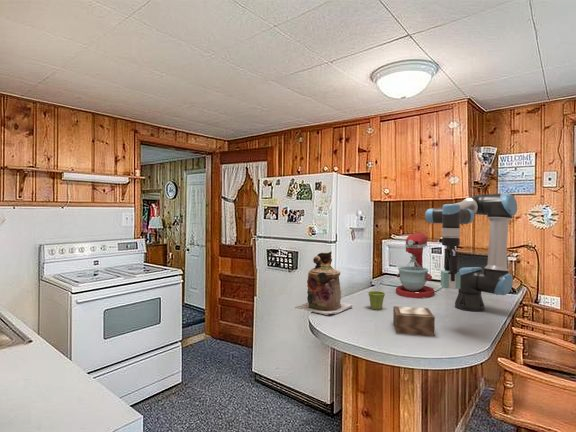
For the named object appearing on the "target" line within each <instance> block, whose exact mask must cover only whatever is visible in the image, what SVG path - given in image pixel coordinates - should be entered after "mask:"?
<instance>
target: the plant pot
mask: <svg viewBox="0 0 576 432" xmlns="http://www.w3.org/2000/svg"><path fill="white" fill-rule="evenodd" d="M367 294H368V297H369V303H370V308H371V309H373V310H377V311H379V310H383V309H382V308H383V304H384V303H383V302H384V298H385V295H386V293H385V292H384V291H377V290H373V291H372V290H371V291H368V292H367Z"/></svg>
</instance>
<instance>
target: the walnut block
mask: <svg viewBox="0 0 576 432" xmlns="http://www.w3.org/2000/svg"><path fill="white" fill-rule="evenodd" d="M392 311H393V313H392V315H393V317H392V321H393V322H392V323H393V327H394V329H395V333H396V334H406V335H407V334H408V335H420V336H433V337H434V336H435V320H436V317H435V316H434V314H433V313H432V311H431V310H430V308H429V307H417V306H416V307H413V306H398V305H397V306H396V305H393V310H392Z"/></svg>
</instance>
